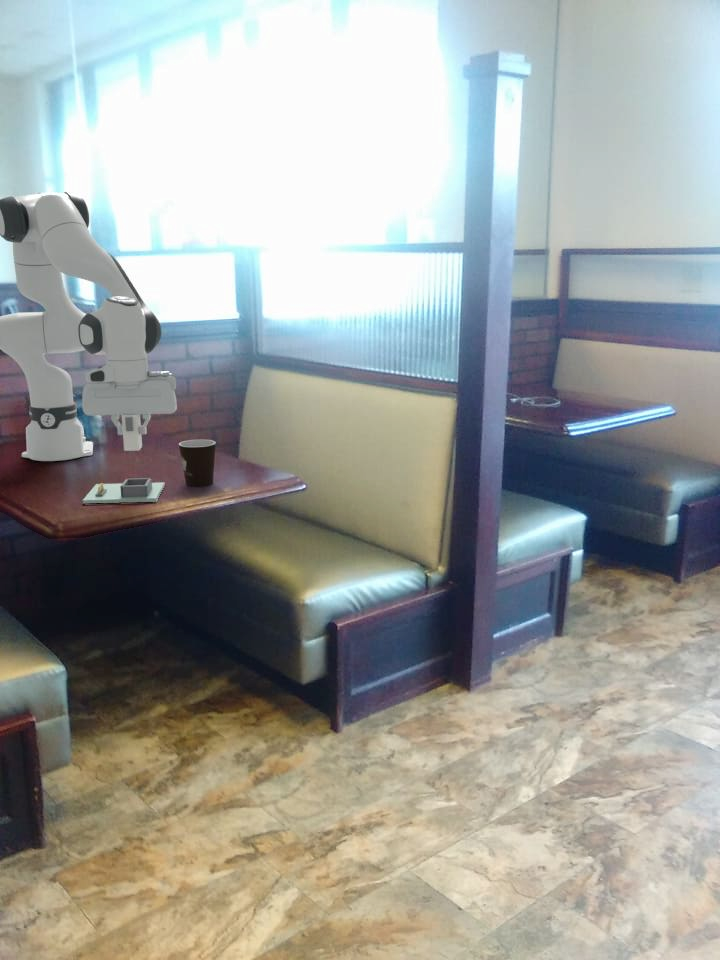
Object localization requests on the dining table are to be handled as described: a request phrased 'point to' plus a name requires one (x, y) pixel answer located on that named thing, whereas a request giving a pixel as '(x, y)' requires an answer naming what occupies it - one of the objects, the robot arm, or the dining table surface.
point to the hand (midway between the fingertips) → (132, 434)
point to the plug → (131, 432)
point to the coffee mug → (198, 462)
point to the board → (126, 491)
